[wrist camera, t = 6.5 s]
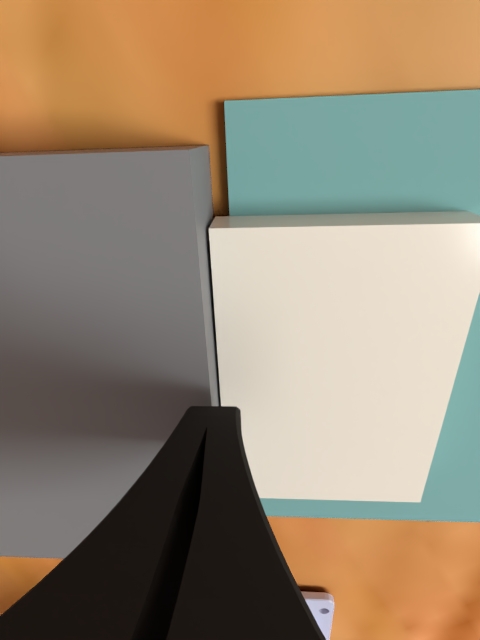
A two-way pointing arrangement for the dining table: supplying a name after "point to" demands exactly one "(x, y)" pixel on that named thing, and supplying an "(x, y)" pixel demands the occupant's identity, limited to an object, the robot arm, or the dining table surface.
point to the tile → (342, 344)
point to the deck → (97, 329)
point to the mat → (372, 197)
